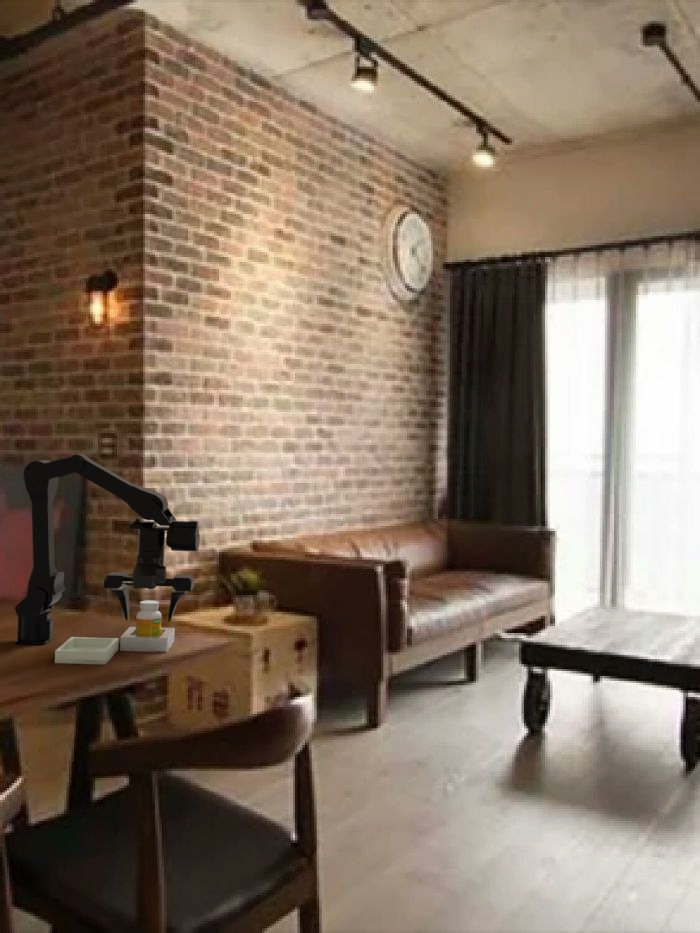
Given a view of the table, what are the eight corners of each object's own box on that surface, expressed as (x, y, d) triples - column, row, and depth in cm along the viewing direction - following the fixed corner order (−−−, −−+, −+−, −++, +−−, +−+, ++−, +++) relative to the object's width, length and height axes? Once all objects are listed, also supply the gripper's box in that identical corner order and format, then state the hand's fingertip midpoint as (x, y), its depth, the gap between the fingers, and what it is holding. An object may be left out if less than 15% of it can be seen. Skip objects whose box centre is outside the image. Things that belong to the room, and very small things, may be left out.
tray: (54, 663, 174) (55, 650, 174) (70, 648, 186) (71, 636, 186) (105, 664, 175) (105, 652, 174) (118, 649, 187) (118, 638, 186)
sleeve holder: (120, 650, 186) (120, 636, 186) (129, 639, 196) (130, 626, 196) (167, 652, 187) (167, 638, 186) (174, 641, 197) (174, 628, 196)
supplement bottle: (154, 649, 188) (155, 605, 188) (131, 647, 189) (132, 603, 189) (164, 644, 193) (166, 600, 193) (141, 642, 194) (143, 599, 194)
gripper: (99, 553, 182) (96, 627, 183) (189, 556, 183) (186, 630, 184) (111, 546, 193) (108, 616, 194) (195, 549, 194) (192, 619, 195)
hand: (148, 620), depth 191 cm, fingers open, 9 cm apart
